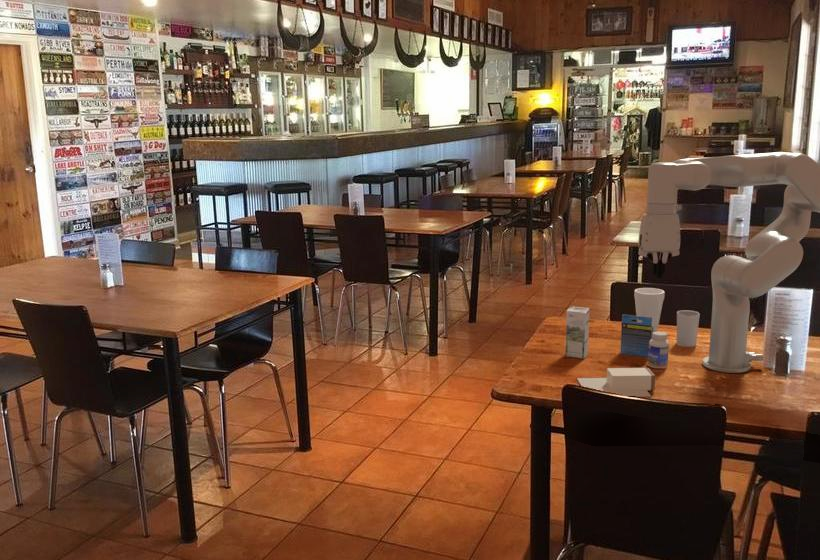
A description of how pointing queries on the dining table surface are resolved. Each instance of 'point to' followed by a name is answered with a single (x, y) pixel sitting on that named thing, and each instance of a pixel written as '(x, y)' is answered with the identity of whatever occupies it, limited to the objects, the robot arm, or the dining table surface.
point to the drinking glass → (687, 328)
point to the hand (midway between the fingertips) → (657, 276)
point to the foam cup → (649, 304)
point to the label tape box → (636, 335)
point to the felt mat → (603, 386)
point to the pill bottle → (658, 350)
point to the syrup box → (577, 332)
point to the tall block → (630, 379)
